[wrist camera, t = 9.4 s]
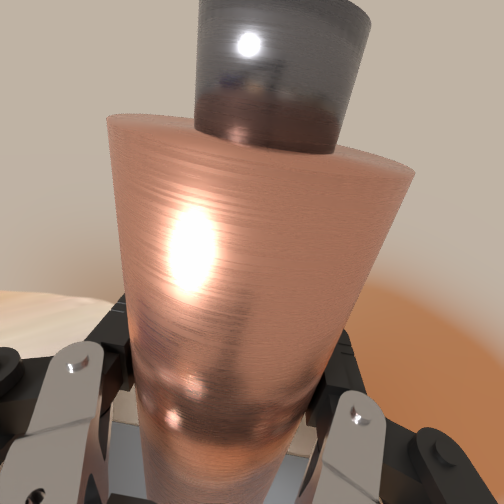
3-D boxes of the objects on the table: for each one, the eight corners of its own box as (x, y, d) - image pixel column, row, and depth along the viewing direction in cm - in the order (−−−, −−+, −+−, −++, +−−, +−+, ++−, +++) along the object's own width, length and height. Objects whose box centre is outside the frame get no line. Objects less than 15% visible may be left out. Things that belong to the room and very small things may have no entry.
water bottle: (121, 543, 11) (-91, -176, 2) (173, 401, 16) (178, 34, 7) (262, 570, 11) (681, -41, 2) (267, 419, 16) (387, 71, 7)
